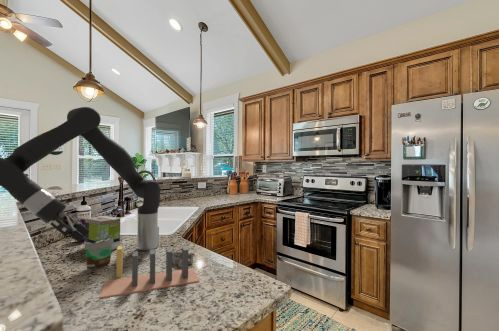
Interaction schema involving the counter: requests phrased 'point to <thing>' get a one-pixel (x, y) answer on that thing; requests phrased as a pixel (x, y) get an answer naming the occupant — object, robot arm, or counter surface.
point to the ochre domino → (119, 261)
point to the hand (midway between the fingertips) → (84, 236)
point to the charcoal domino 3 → (169, 264)
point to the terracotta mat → (146, 283)
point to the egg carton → (177, 257)
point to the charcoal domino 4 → (184, 262)
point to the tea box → (103, 229)
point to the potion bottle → (84, 226)
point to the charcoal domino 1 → (135, 269)
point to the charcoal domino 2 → (152, 266)
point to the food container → (98, 253)
